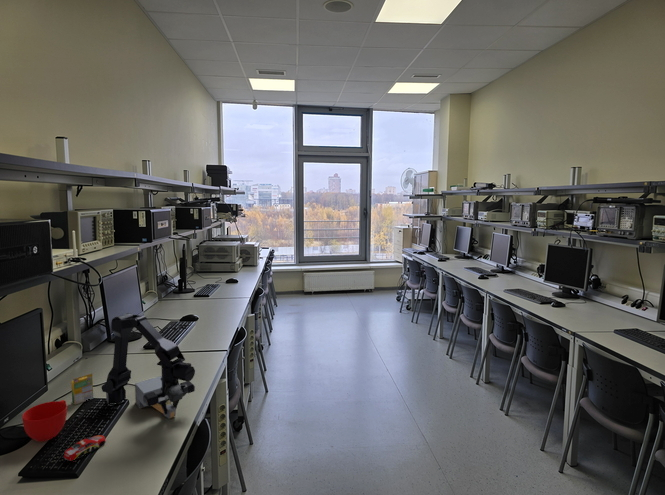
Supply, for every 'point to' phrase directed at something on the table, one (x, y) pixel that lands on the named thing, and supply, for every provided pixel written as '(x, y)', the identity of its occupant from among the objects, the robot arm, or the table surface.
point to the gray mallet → (170, 410)
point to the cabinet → (147, 389)
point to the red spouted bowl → (45, 420)
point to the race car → (84, 447)
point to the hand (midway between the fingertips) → (169, 412)
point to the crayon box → (82, 389)
